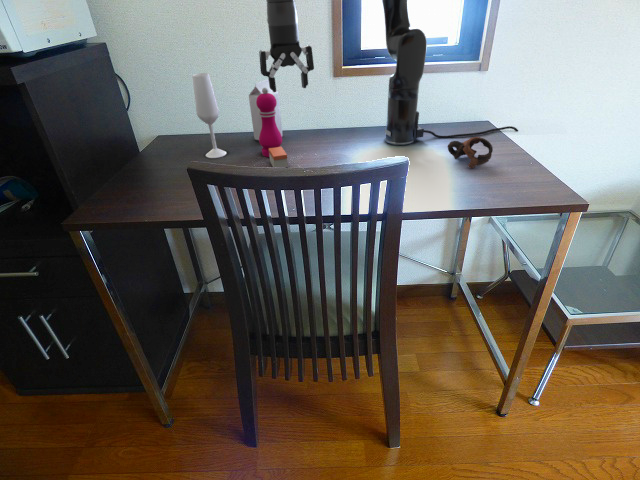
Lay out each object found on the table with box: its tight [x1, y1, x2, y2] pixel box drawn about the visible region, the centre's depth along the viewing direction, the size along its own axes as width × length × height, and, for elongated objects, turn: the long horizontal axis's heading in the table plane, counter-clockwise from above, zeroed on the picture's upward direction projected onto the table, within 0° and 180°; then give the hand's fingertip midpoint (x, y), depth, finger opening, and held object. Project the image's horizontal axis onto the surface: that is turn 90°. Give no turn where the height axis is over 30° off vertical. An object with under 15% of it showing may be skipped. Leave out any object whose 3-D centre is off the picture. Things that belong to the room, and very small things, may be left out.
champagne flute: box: [191, 72, 228, 159], centre depth 118 cm, size 7×7×24 cm
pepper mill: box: [256, 88, 283, 158], centre depth 117 cm, size 7×7×20 cm
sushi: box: [269, 146, 289, 168], centre depth 114 cm, size 4×7×4 cm, turn 18°
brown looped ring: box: [447, 136, 494, 169], centre depth 109 cm, size 12×10×8 cm
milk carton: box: [248, 78, 283, 141], centre depth 130 cm, size 7×7×19 cm
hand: (289, 89), depth 106 cm, fingers open, 8 cm apart
